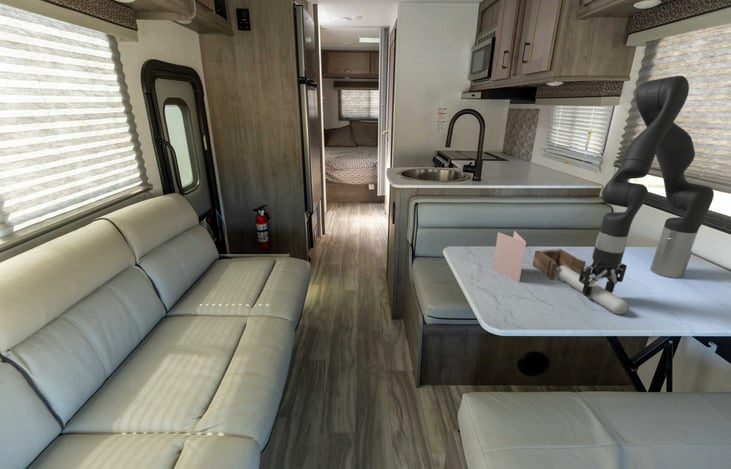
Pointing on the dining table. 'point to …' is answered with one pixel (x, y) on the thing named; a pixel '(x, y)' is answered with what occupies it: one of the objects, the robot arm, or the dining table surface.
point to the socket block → (556, 261)
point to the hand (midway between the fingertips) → (596, 294)
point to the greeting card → (509, 255)
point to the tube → (593, 291)
